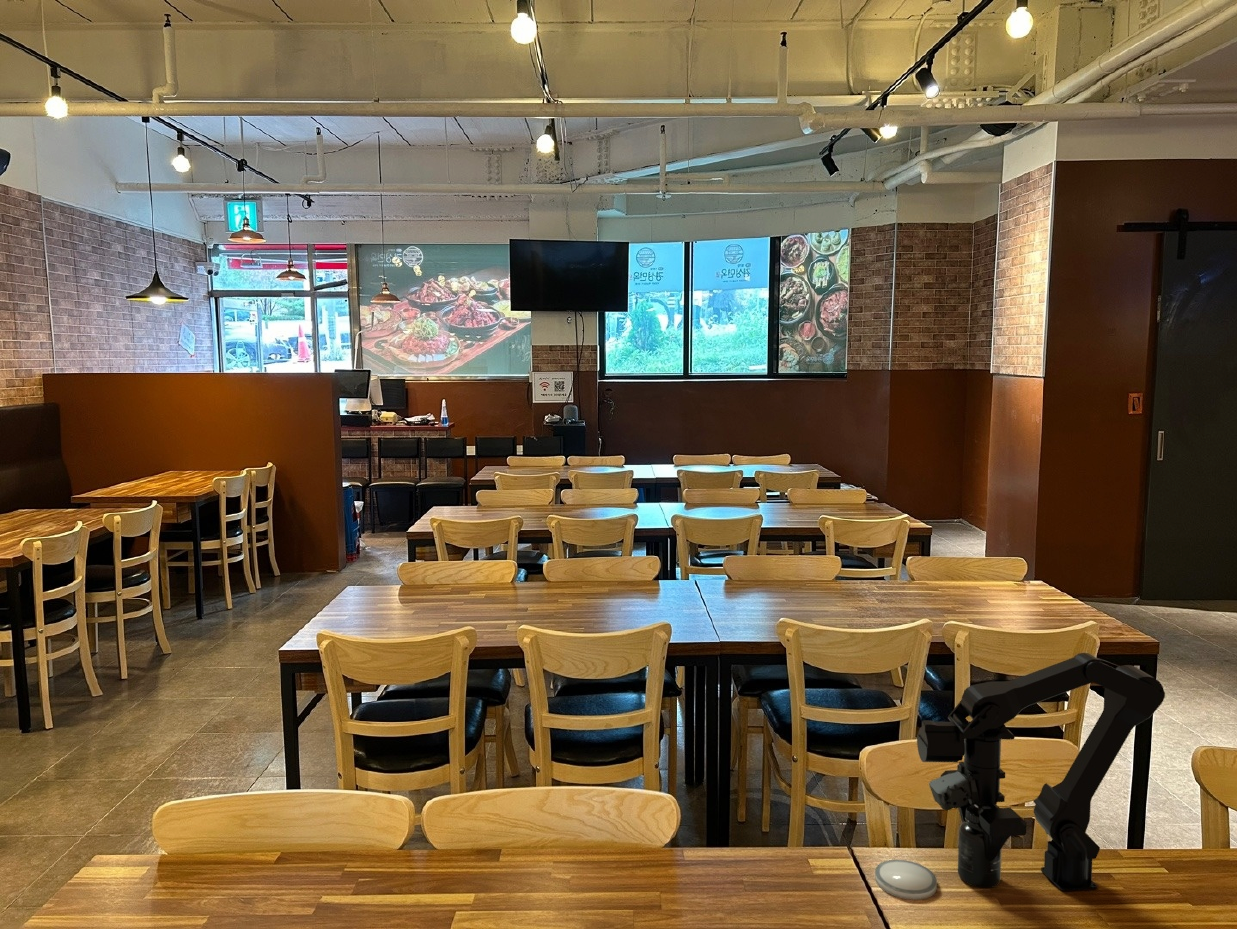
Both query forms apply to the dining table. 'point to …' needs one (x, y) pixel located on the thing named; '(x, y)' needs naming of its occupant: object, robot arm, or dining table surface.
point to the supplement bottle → (976, 854)
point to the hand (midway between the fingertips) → (979, 849)
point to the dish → (905, 879)
